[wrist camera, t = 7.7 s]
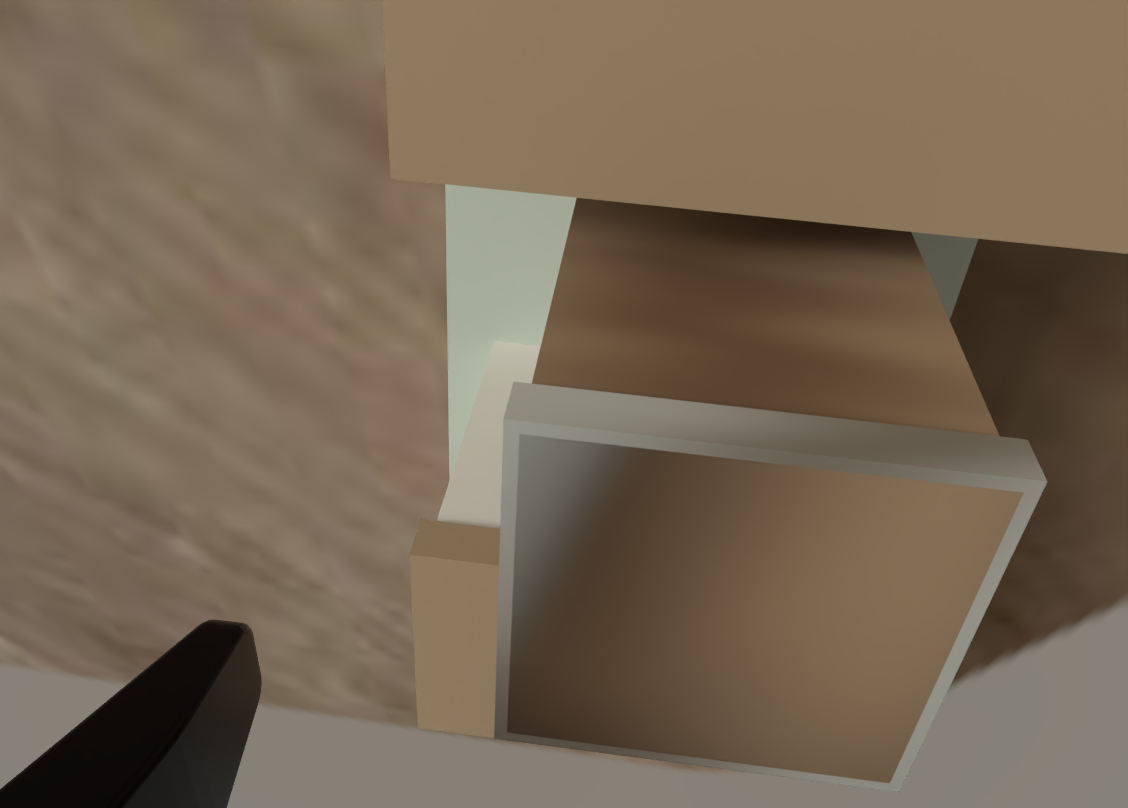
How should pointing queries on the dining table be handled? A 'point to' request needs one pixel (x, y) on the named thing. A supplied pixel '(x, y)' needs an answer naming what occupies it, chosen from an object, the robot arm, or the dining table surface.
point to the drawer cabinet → (714, 184)
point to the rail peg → (747, 499)
